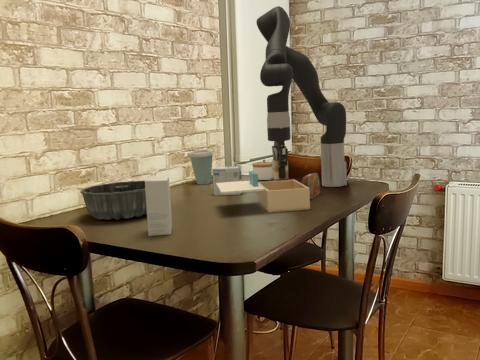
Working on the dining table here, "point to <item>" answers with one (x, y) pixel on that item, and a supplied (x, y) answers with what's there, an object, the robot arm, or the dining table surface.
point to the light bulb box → (225, 177)
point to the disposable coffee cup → (202, 165)
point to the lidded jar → (263, 170)
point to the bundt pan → (116, 200)
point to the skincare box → (158, 205)
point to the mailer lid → (241, 185)
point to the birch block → (276, 172)
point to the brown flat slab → (312, 184)
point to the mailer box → (284, 196)
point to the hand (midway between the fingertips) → (280, 177)
